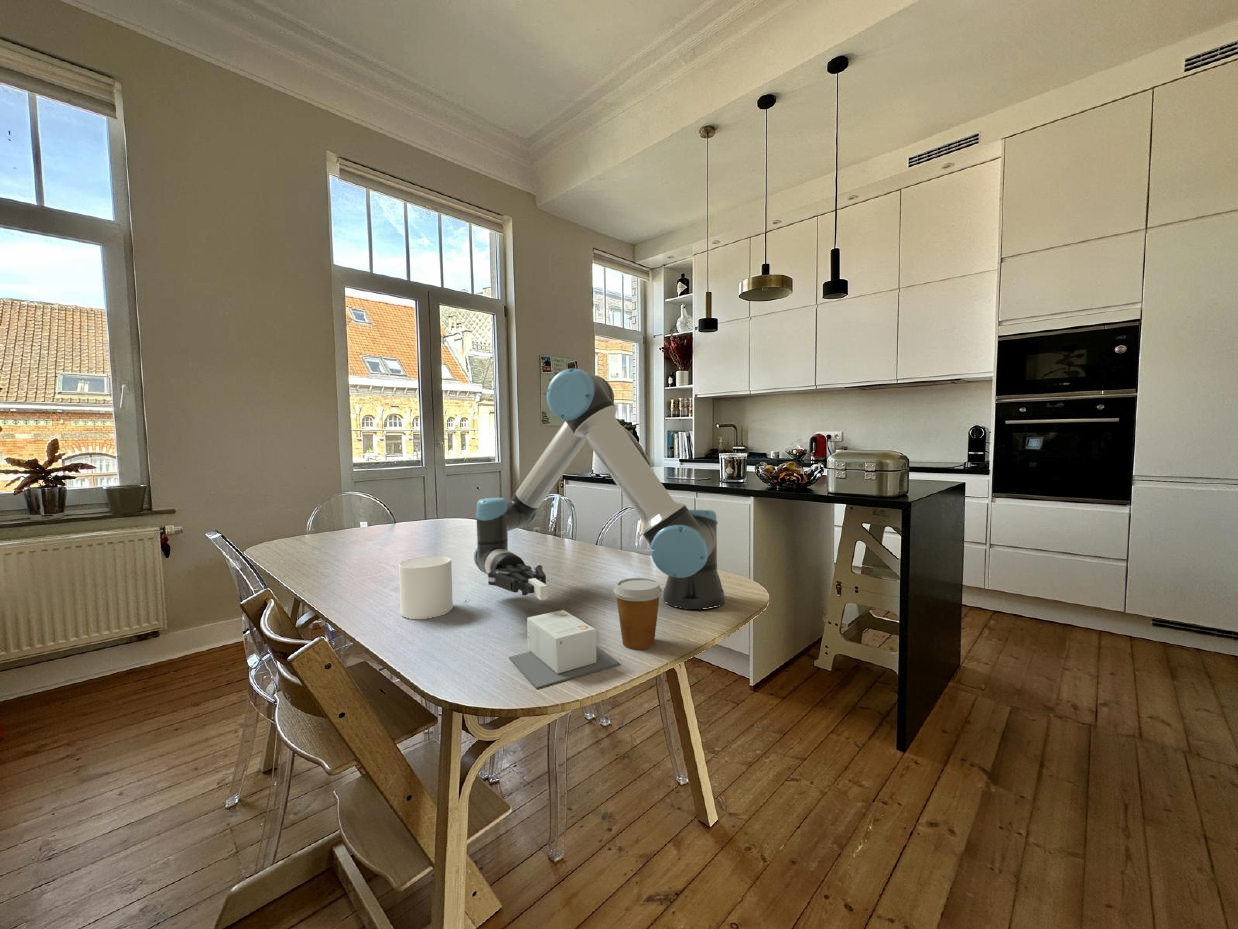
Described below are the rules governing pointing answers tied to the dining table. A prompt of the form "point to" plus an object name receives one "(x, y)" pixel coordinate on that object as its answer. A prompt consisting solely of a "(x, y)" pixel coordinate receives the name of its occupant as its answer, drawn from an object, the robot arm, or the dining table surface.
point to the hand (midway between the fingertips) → (543, 592)
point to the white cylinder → (425, 587)
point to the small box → (561, 641)
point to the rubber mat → (546, 676)
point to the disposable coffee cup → (638, 611)
